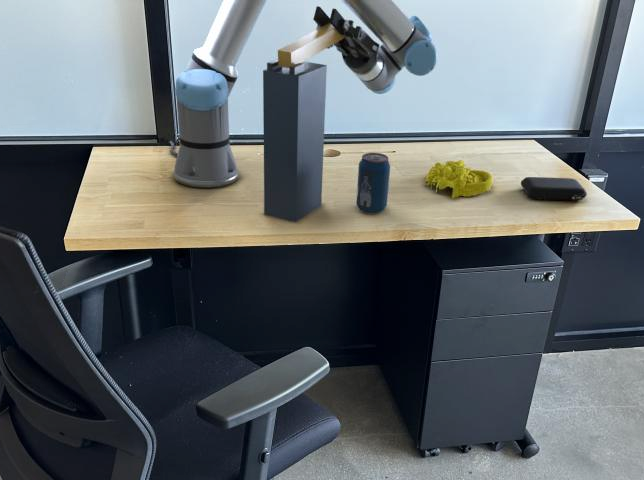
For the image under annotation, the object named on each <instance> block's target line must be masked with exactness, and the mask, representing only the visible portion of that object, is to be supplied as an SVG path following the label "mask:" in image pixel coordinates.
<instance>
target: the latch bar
mask: <svg viewBox="0 0 644 480" xmlns="http://www.w3.org/2000/svg"><path fill="white" fill-rule="evenodd" d="M345 20H346V21H347V22H348V20H349V19H345ZM343 38H345V33H344V35H340V34H339V32H338V31H337V30H336V29H335V28H334V27H333V26H332V24H331V23H328V24H327V25H325V26H323V27H321V28H319V29H317V30H316V29H315V30H313V31H311V32H309V33H308V34H306V35H304V36H301V37H300V38H298V39H296V40H295V41H292V42H290V43H289V44H287V45H285V46H283V47H280V48H279V49H277V59H278V66H280V67H286V68H289V67H290V66H292V65H295V64H298V63H302V62H306V61H307V60H309V59H311V58H312V57H314V56H316V55H318V54H319V53H321V52H323V51H324V50H326V49H327V48H328V47H330V46H331V45H333V44H335V43H337V42H338V41H340V40H342V39H343ZM330 48H331V47H330Z"/></svg>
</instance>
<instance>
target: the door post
mask: <svg viewBox="0 0 644 480" xmlns="http://www.w3.org/2000/svg"><path fill="white" fill-rule="evenodd" d="M327 69H328V67H327V64H322V63H316V62H310V61H304V62H302V63H298V64H295V65H292V66H290V67H289V68H286V67H280V66H278V58H277V59H274V60H272V61H268V62H266V68H265V69H263V70H262V100H263V101H262V103H263V104H262V105H263V106H262V107H263V109H262V110H263V111H262V112H263V113H262V114H263V117H262V118H263V119H262V120H263V122H262V123H263V215H264V216H268V217H271V218H276V219H281V220H285V221H289V222H293V223H298V222H299V221H300V220H302V219H303V218H304V217H306V216H307V215H309V214H310V213H311V212H314V211H315V210H316V209H318V208H319V207H320V206H322V200H323V199H322V197H323V196H322V195H323V175H324V173H323V170H324V149H325V148H324V145H325V124H326V123H325V119H326V96H327V95H326V94H327Z"/></svg>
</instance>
